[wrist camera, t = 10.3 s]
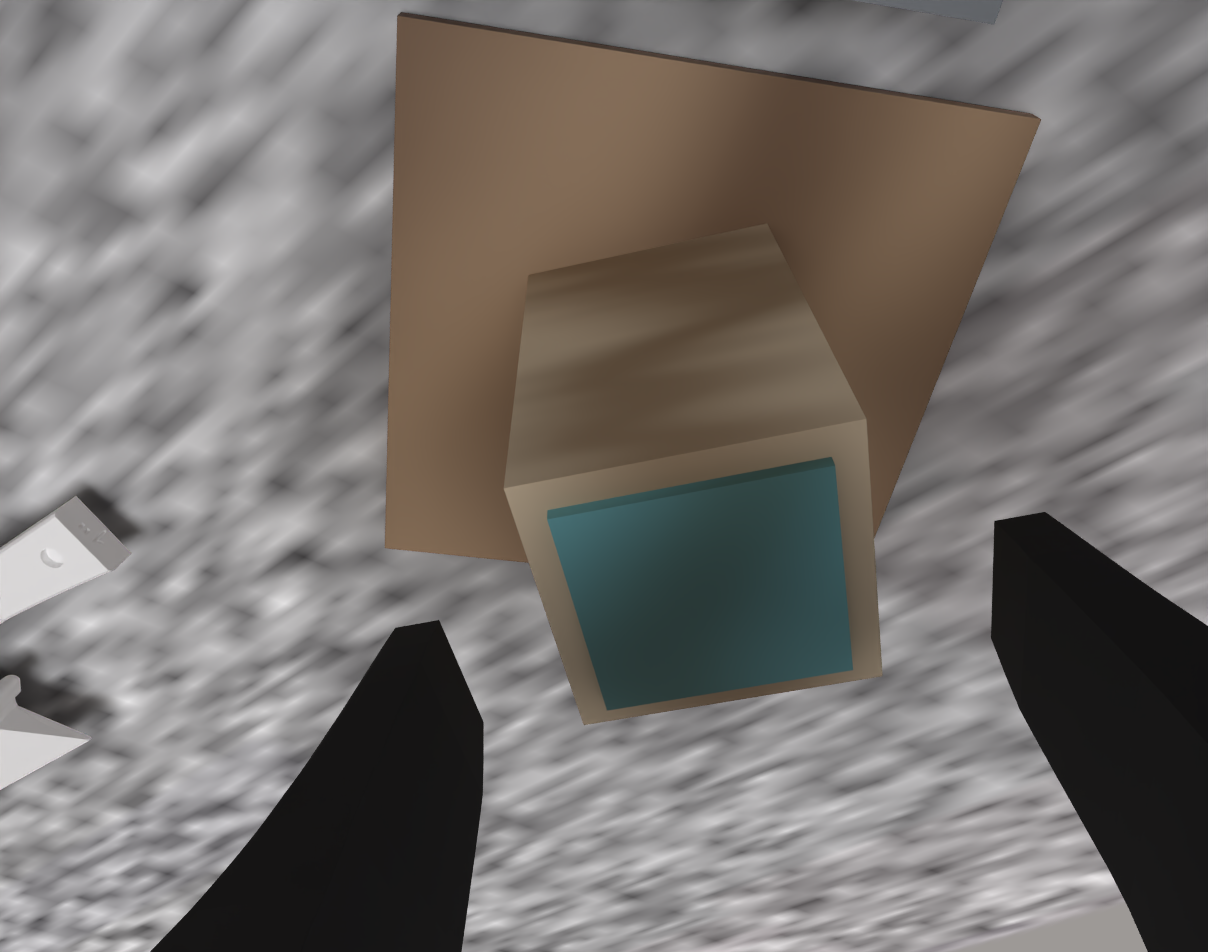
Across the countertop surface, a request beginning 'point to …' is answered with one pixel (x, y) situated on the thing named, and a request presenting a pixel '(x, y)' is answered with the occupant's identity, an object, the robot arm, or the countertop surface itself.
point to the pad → (657, 232)
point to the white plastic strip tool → (26, 578)
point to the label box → (691, 480)
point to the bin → (949, 8)
